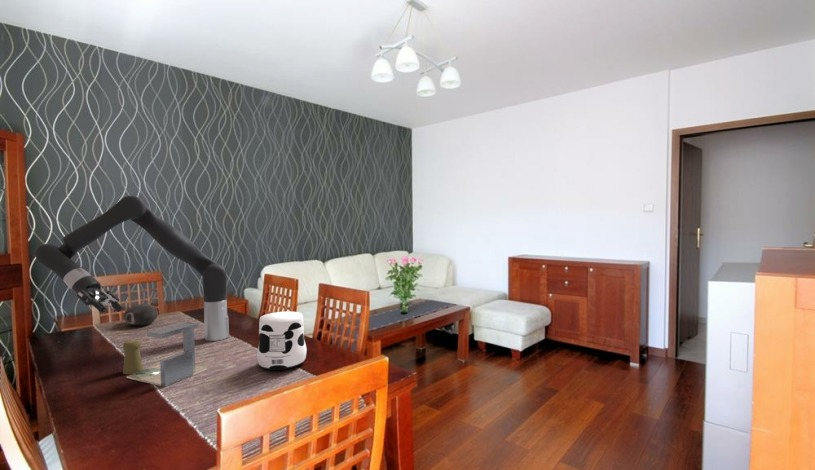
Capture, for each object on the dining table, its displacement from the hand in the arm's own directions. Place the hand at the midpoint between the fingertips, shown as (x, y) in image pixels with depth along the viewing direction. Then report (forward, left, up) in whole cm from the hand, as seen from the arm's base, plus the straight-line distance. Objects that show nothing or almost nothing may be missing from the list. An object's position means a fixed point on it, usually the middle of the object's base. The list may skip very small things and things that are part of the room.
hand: (113, 310), depth 147 cm
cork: (-5, +12, -20) cm, 24 cm away
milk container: (-49, +39, -20) cm, 66 cm away
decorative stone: (-12, -61, -20) cm, 65 cm away
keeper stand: (-14, +23, -20) cm, 33 cm away
